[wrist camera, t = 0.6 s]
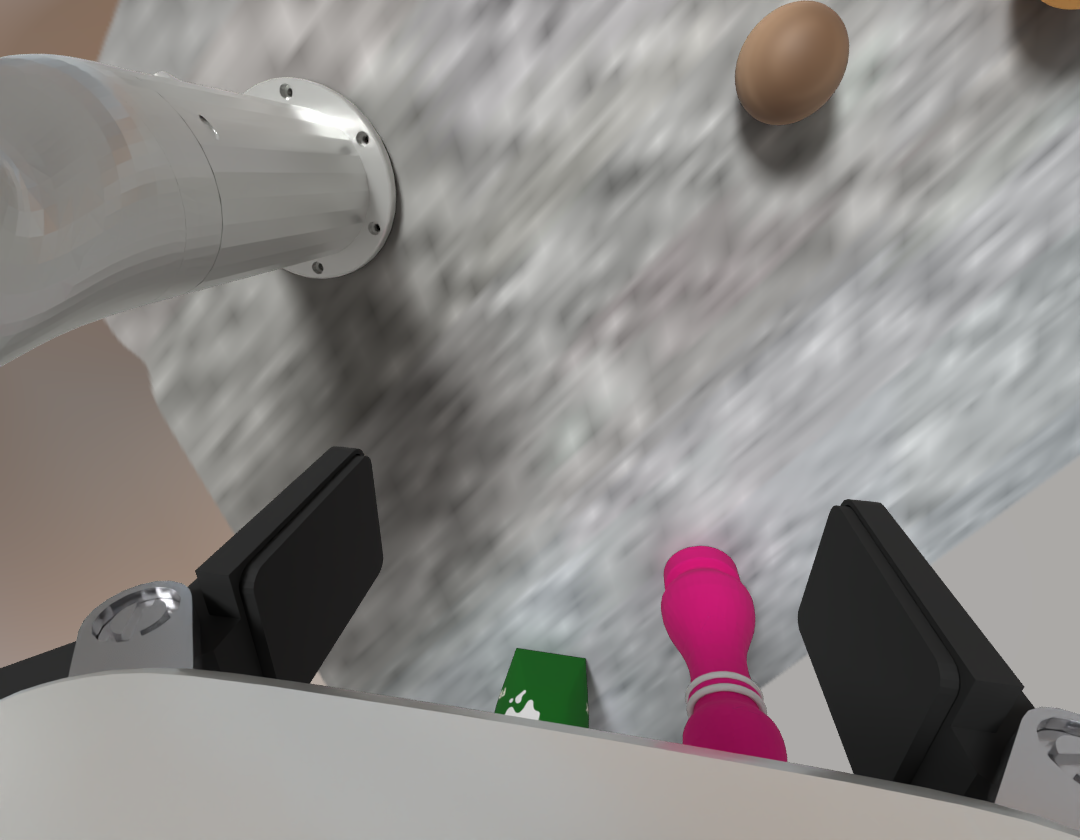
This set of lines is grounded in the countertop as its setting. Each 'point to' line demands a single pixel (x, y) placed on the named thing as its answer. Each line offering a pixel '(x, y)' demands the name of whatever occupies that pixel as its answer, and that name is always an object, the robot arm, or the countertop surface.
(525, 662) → the milk carton
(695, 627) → the pepper mill
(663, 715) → the countertop surface
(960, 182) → the countertop surface
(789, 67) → the brown egg
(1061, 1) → the object ball
